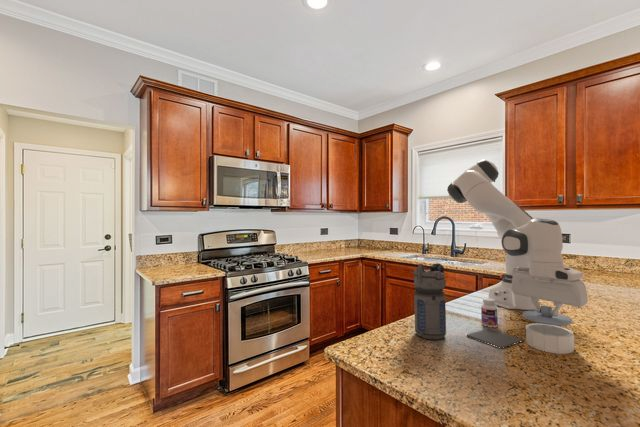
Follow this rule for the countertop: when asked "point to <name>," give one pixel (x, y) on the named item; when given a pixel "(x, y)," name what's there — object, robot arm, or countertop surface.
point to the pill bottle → (489, 313)
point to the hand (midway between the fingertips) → (546, 314)
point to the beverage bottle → (430, 302)
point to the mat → (495, 338)
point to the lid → (547, 317)
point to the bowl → (550, 338)
